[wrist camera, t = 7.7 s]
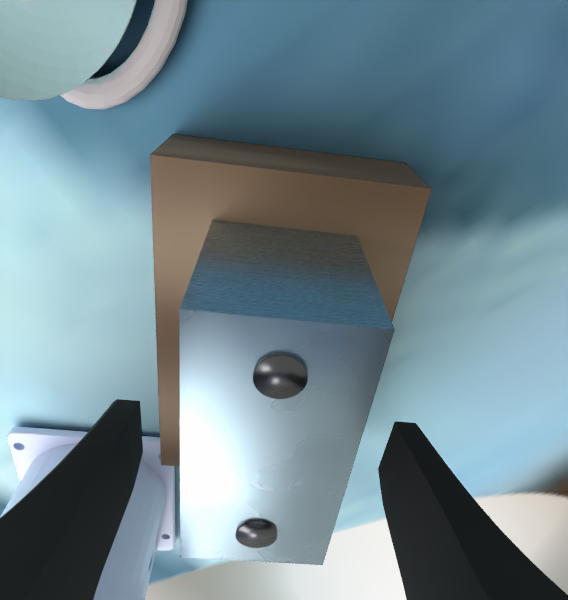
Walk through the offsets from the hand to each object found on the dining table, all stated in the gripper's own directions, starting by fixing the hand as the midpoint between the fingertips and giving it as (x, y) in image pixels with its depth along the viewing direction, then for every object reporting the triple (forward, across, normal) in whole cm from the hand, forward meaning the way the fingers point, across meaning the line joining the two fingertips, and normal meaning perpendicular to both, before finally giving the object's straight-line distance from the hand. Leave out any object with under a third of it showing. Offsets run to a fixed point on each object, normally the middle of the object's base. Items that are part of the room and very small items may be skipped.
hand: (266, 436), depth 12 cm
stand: (+7, 0, 0) cm, 7 cm away
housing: (+4, 0, 0) cm, 4 cm away
